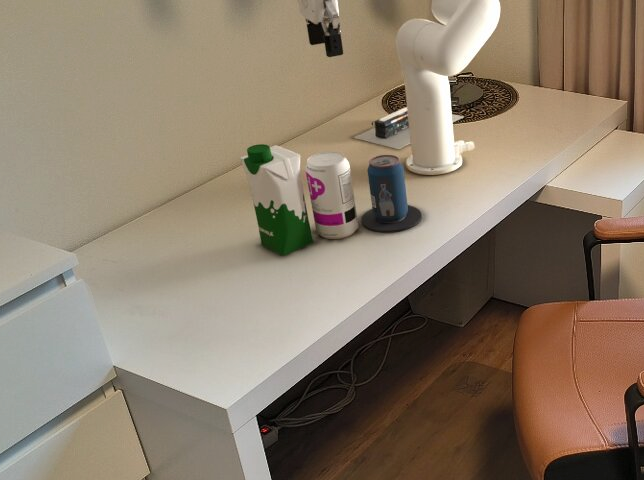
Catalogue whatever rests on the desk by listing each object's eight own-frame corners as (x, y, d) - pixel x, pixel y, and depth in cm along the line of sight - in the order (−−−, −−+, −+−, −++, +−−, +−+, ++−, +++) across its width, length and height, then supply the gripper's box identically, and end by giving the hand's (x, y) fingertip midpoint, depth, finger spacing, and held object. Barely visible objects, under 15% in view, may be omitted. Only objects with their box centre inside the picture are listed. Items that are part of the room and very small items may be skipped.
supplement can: (327, 244, 173) (315, 171, 165) (309, 229, 179) (296, 157, 171) (366, 232, 177) (355, 160, 169) (347, 217, 183) (336, 147, 175)
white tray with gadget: (353, 137, 220) (350, 120, 217) (420, 106, 237) (418, 90, 234) (398, 149, 213) (396, 131, 210) (464, 116, 230) (463, 100, 227)
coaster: (407, 201, 189) (407, 199, 188) (431, 222, 180) (431, 220, 180) (352, 215, 184) (352, 213, 183) (375, 238, 175) (374, 235, 175)
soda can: (399, 206, 185) (393, 150, 179) (414, 218, 180) (408, 162, 174) (368, 214, 183) (360, 158, 176) (382, 227, 178) (374, 170, 171)
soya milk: (254, 245, 174) (232, 146, 163) (294, 229, 179) (275, 132, 168) (281, 259, 169) (261, 158, 158) (321, 242, 174) (303, 143, 163)
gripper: (277, -50, 171) (293, 42, 181) (307, -34, 159) (322, 64, 168) (316, -55, 174) (329, 36, 184) (348, -40, 162) (361, 57, 171)
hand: (326, 49), depth 176 cm, fingers open, 9 cm apart
